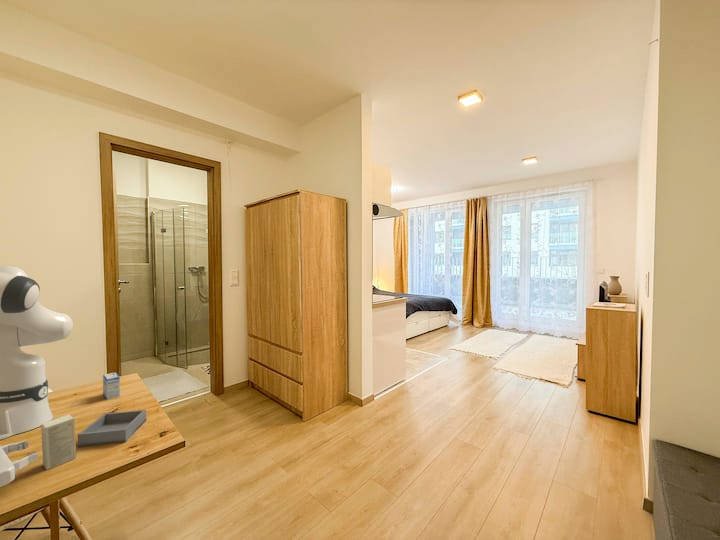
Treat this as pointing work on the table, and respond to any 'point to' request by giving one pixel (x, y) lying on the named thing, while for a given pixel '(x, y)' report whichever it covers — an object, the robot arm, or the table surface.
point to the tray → (112, 428)
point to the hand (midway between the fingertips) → (32, 449)
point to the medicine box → (111, 385)
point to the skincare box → (58, 441)
